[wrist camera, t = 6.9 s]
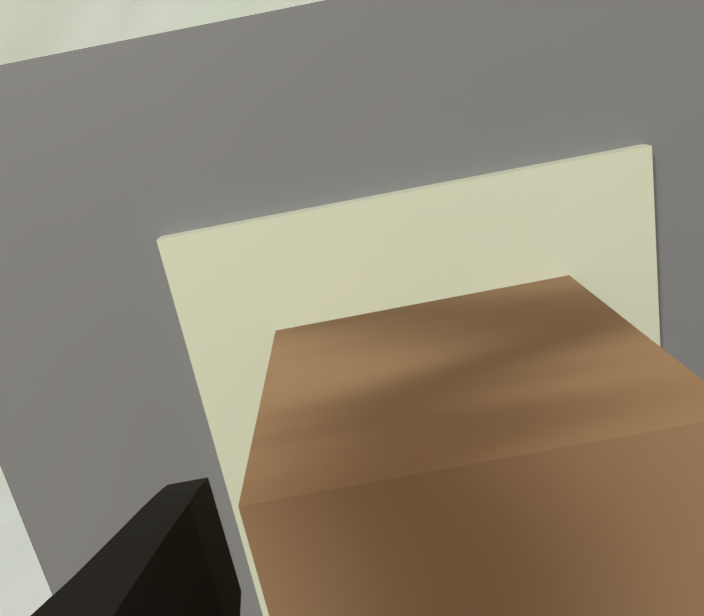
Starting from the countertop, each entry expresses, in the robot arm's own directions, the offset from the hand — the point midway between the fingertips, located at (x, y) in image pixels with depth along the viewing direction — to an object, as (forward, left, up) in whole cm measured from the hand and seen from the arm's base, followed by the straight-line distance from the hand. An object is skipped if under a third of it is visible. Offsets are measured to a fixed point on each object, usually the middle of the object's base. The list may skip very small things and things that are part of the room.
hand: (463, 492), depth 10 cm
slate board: (0, 0, -5) cm, 5 cm away
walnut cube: (0, 0, -2) cm, 2 cm away
